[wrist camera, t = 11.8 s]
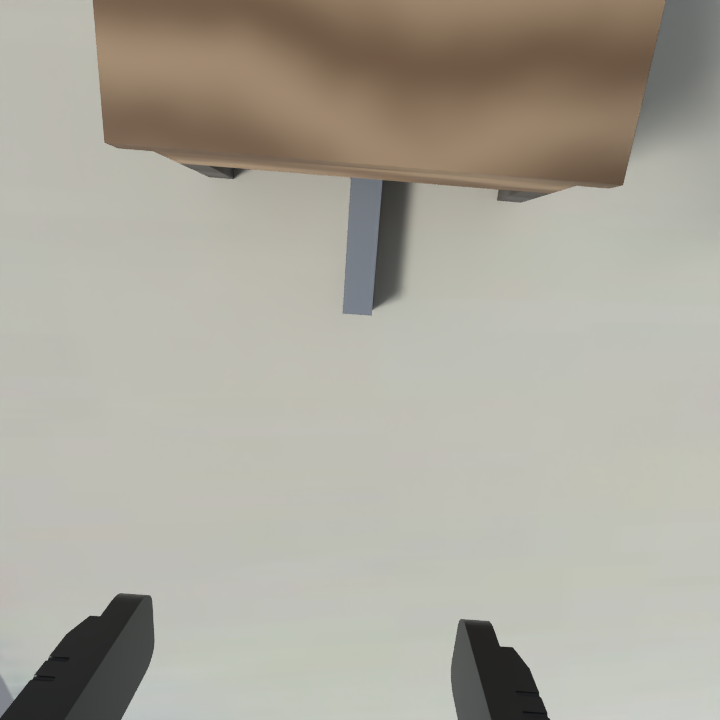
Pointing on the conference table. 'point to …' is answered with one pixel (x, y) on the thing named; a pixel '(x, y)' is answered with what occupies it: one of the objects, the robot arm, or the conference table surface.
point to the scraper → (362, 245)
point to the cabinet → (382, 87)
